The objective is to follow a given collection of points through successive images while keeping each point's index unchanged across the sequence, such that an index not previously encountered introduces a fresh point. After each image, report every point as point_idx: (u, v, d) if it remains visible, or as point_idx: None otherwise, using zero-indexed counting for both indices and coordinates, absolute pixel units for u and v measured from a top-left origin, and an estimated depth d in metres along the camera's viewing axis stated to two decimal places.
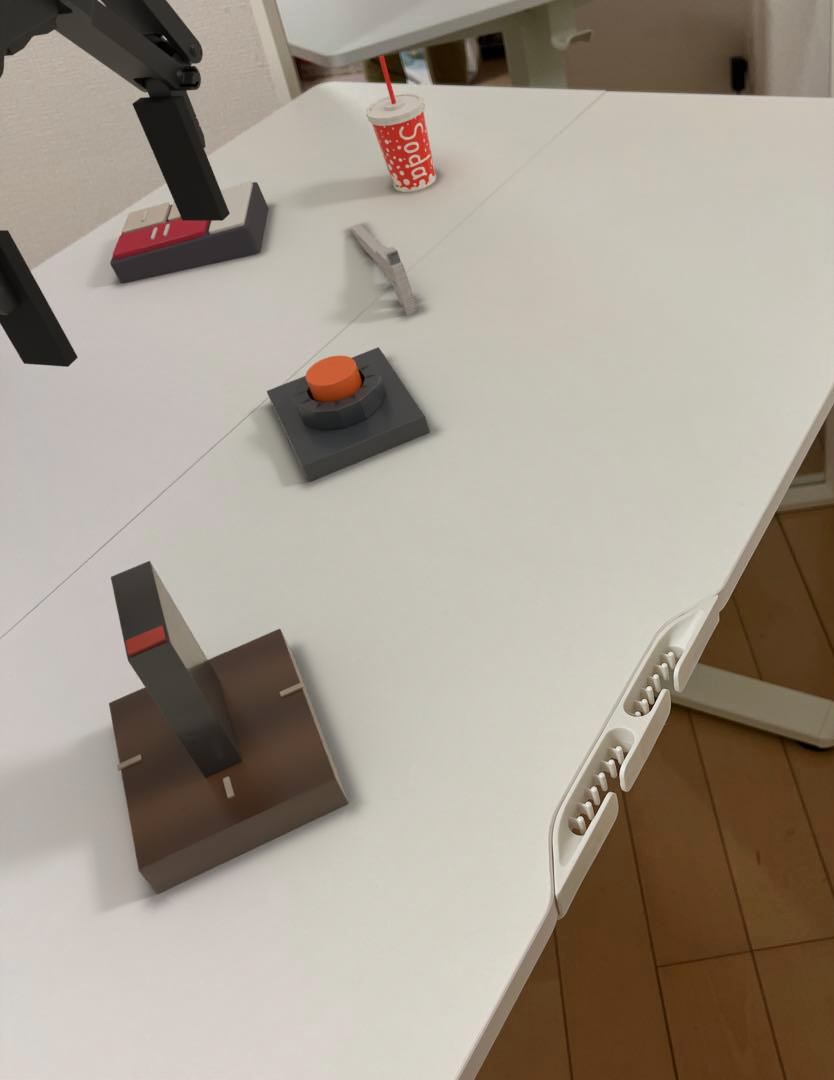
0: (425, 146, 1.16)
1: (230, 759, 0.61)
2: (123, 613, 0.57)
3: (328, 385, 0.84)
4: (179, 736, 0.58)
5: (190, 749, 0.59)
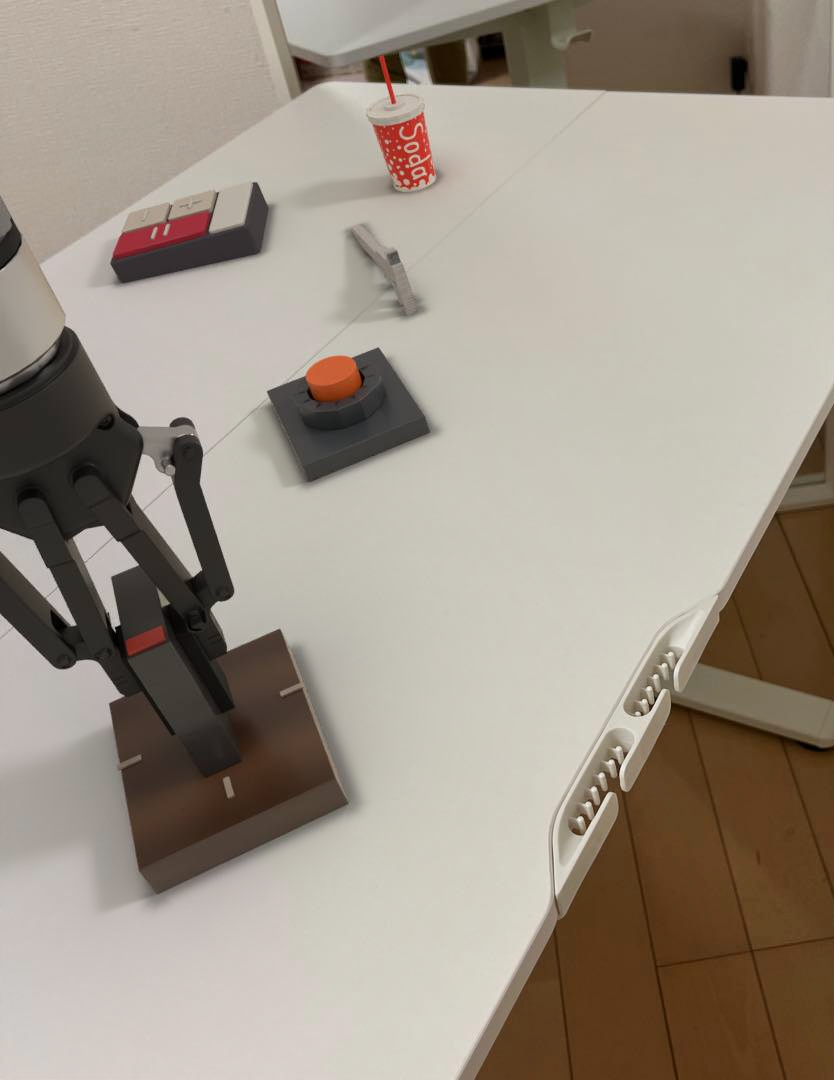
0: (425, 146, 1.16)
1: (230, 759, 0.61)
2: (123, 613, 0.57)
3: (328, 385, 0.84)
4: (179, 736, 0.58)
5: (190, 749, 0.59)
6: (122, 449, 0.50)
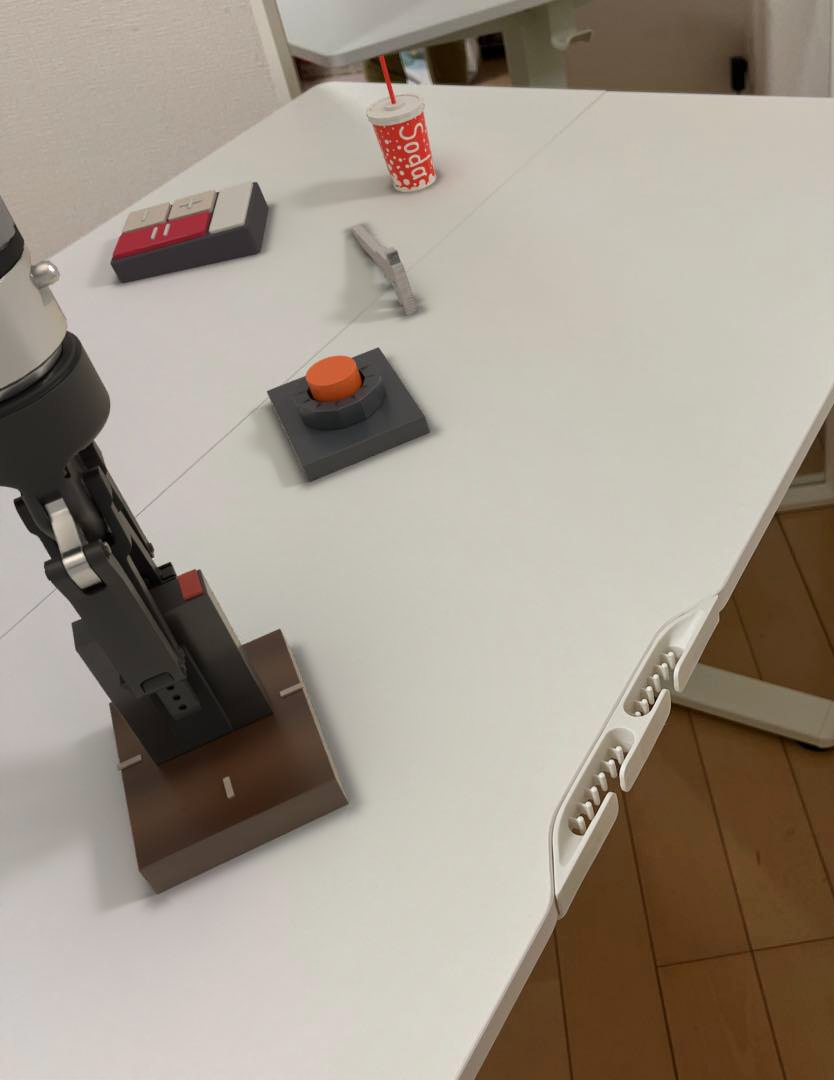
0: (425, 146, 1.16)
1: (264, 688, 0.64)
2: None
3: (328, 385, 0.84)
4: (250, 670, 0.61)
5: (257, 683, 0.62)
6: None
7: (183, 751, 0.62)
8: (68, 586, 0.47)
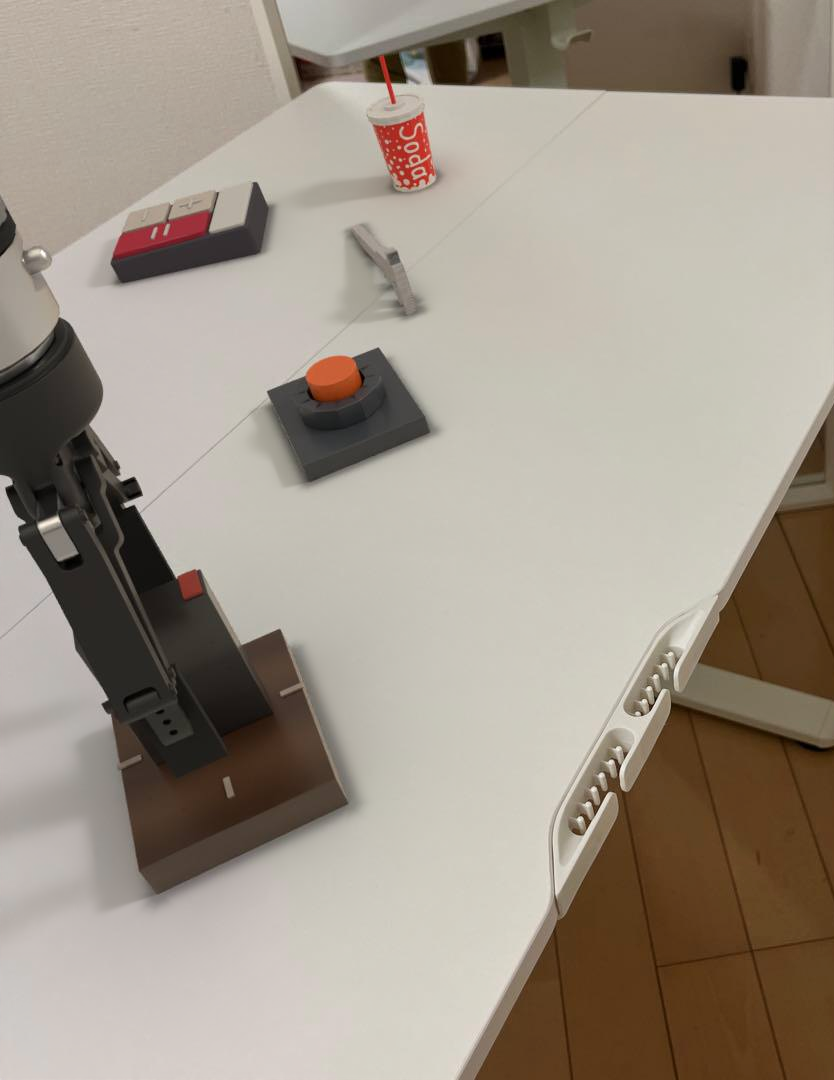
0: (425, 146, 1.16)
1: (264, 688, 0.64)
2: None
3: (328, 385, 0.84)
4: (250, 670, 0.61)
5: (257, 683, 0.62)
6: None
7: None
8: (41, 551, 0.45)
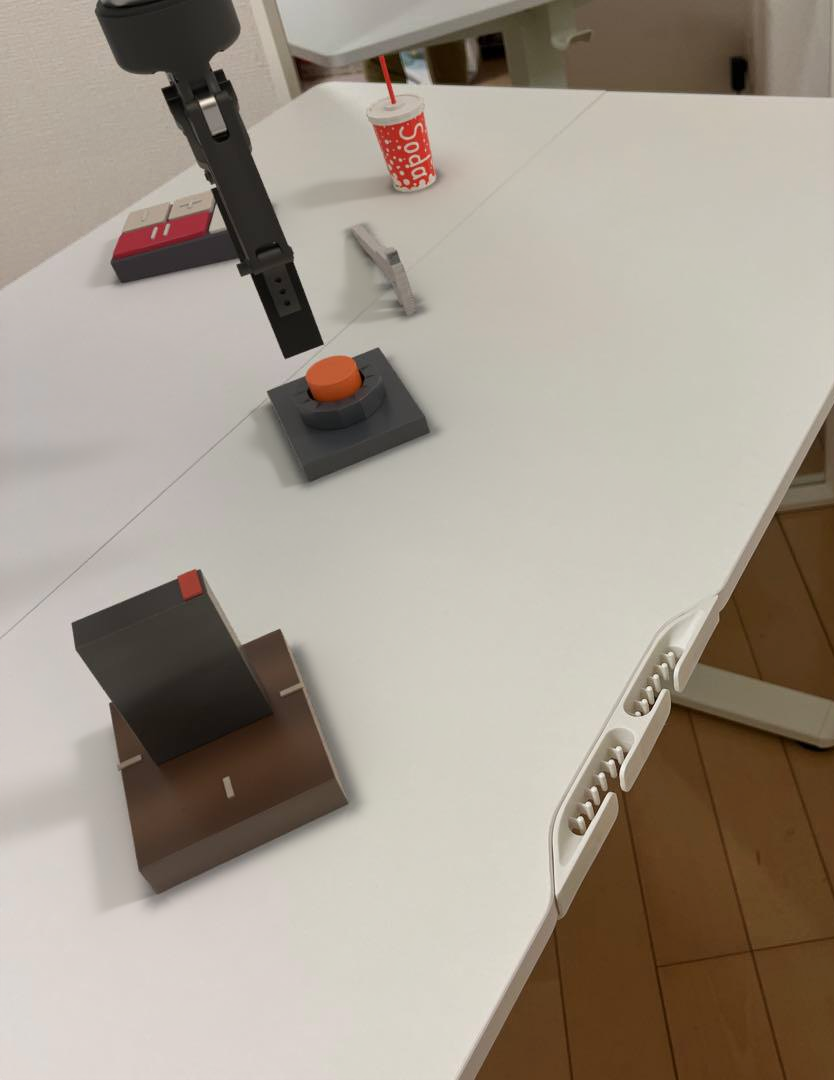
0: (425, 146, 1.16)
1: (264, 688, 0.64)
2: (139, 618, 0.56)
3: (328, 385, 0.84)
4: (250, 670, 0.61)
5: (257, 683, 0.62)
6: None
7: (183, 751, 0.62)
8: (200, 122, 0.61)
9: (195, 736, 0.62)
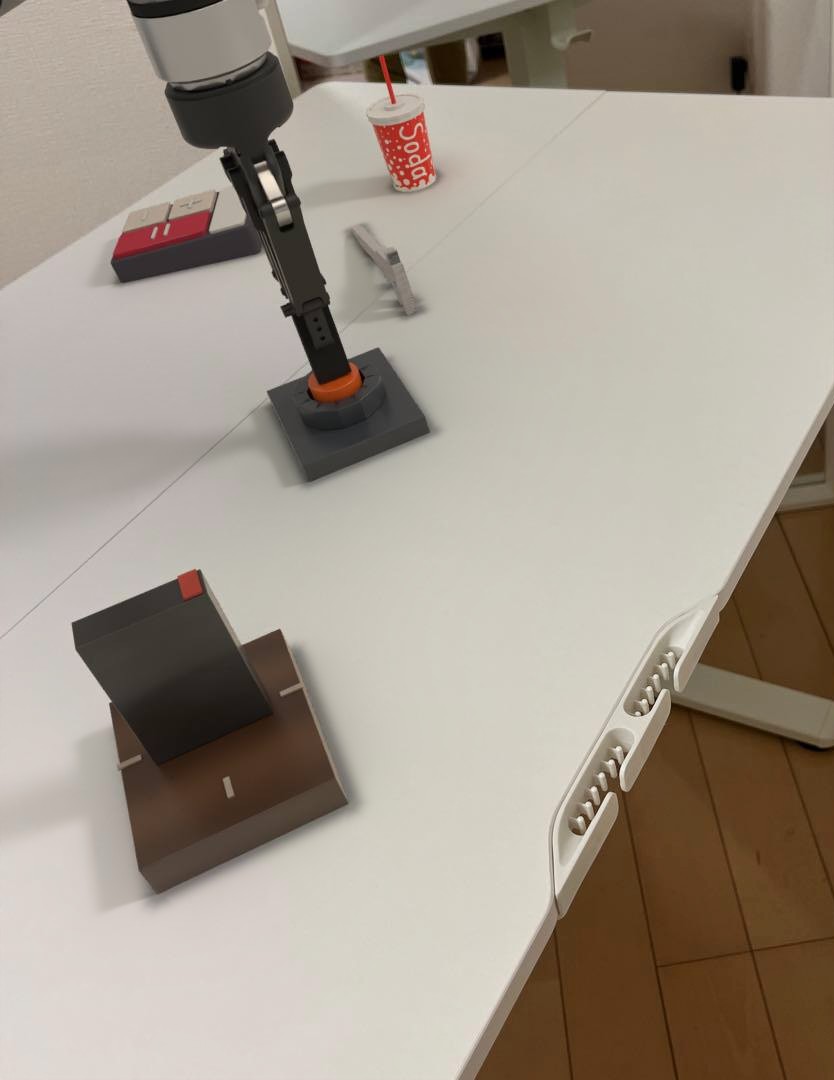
0: (425, 146, 1.16)
1: (264, 688, 0.64)
2: (139, 618, 0.56)
3: (330, 391, 0.84)
4: (250, 670, 0.61)
5: (257, 683, 0.62)
6: None
7: (183, 751, 0.62)
8: (273, 223, 0.71)
9: (195, 736, 0.62)
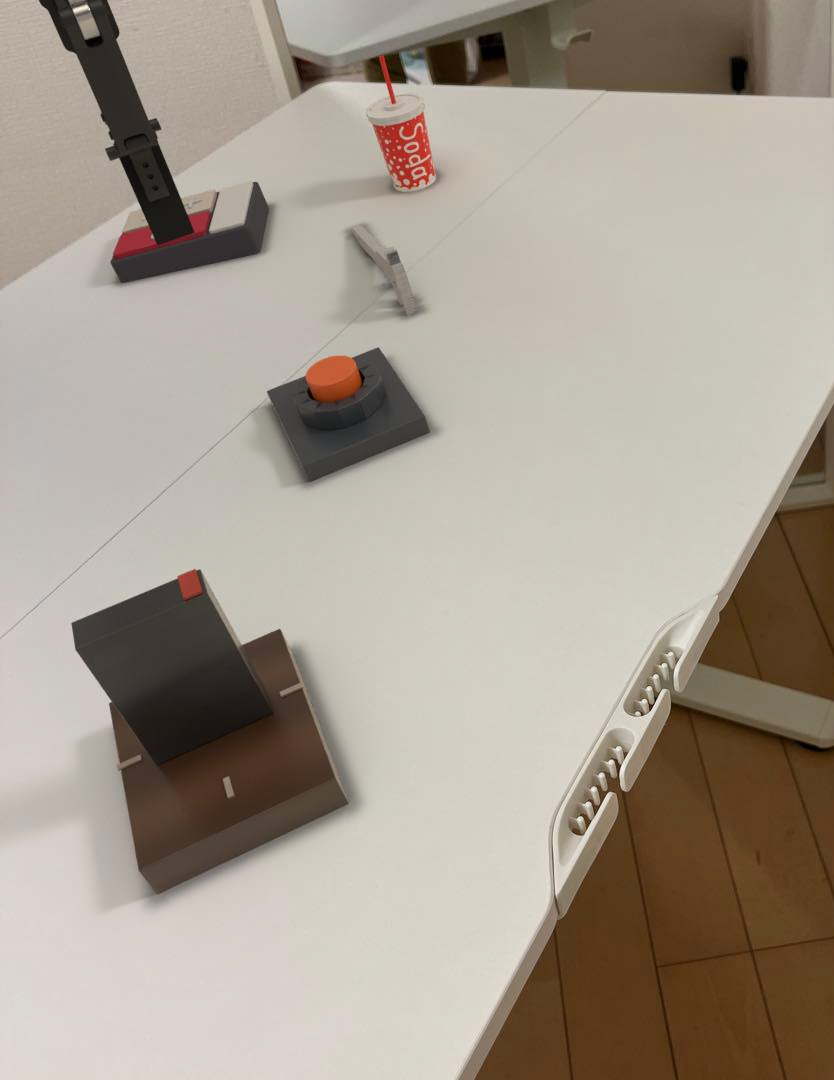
0: (425, 146, 1.16)
1: (264, 688, 0.64)
2: (139, 618, 0.56)
3: (328, 385, 0.84)
4: (250, 670, 0.61)
5: (257, 683, 0.62)
6: None
7: (183, 751, 0.62)
8: (76, 33, 0.63)
9: (195, 736, 0.62)
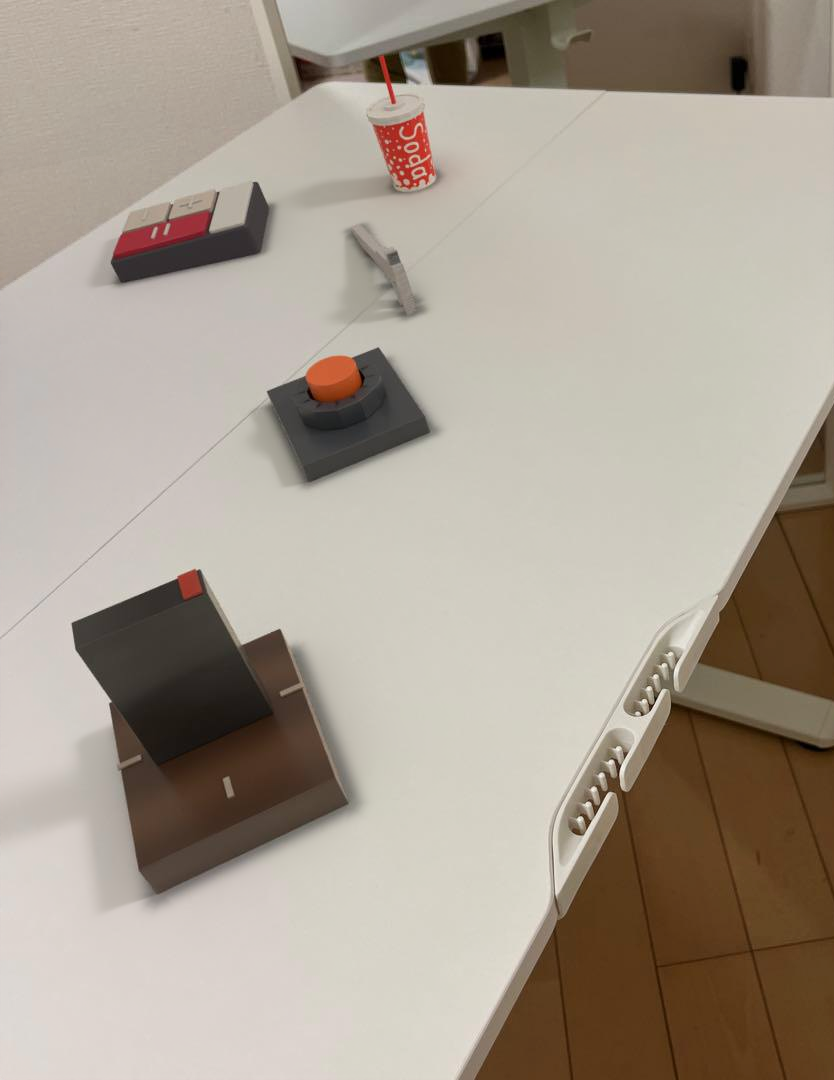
0: (425, 146, 1.16)
1: (264, 688, 0.64)
2: (139, 618, 0.56)
3: (328, 385, 0.84)
4: (250, 670, 0.61)
5: (257, 683, 0.62)
6: None
7: (183, 751, 0.62)
8: None
9: (195, 736, 0.62)
